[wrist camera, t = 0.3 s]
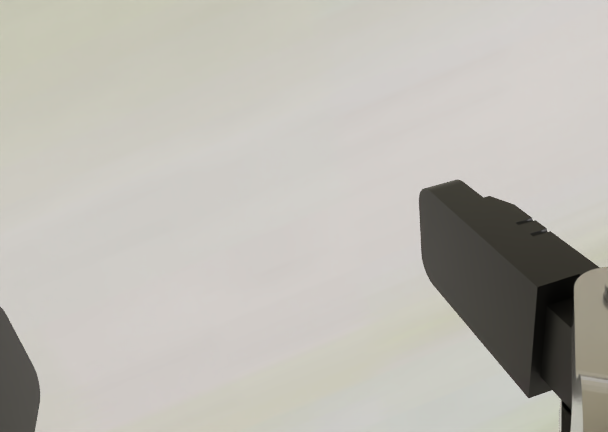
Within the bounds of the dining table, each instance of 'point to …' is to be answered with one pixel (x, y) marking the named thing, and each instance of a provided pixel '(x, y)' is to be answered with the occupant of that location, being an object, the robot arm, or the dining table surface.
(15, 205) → the dining table surface
